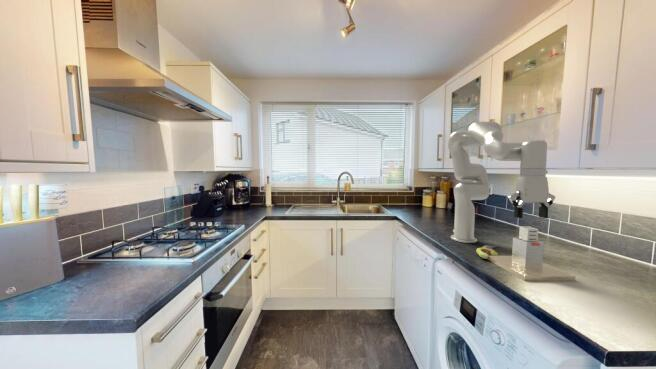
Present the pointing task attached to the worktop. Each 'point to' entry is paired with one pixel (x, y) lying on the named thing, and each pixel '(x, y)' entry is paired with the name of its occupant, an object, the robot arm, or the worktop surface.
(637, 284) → the worktop surface
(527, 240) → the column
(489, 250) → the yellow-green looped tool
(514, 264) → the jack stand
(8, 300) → the worktop surface
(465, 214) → the robot arm
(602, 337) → the worktop surface
